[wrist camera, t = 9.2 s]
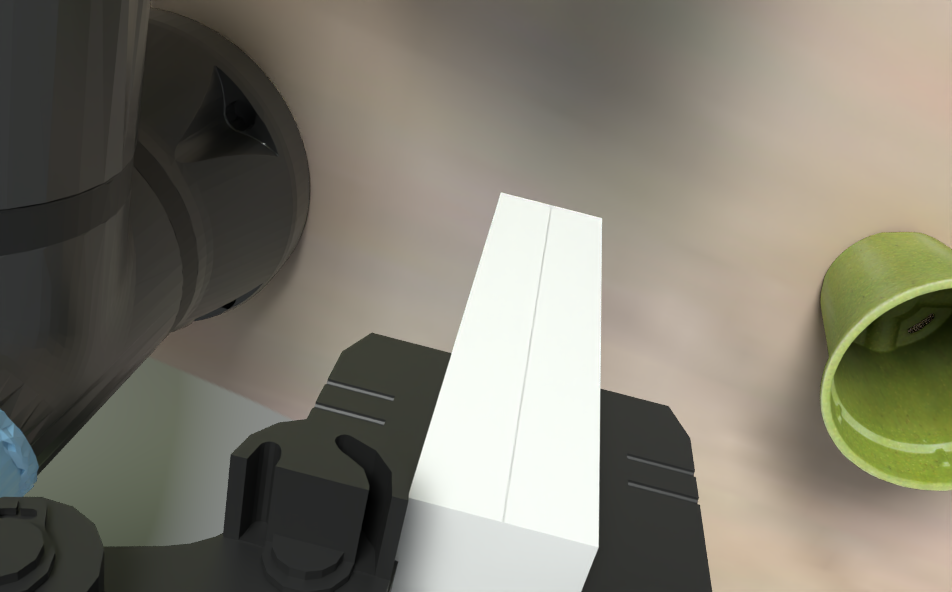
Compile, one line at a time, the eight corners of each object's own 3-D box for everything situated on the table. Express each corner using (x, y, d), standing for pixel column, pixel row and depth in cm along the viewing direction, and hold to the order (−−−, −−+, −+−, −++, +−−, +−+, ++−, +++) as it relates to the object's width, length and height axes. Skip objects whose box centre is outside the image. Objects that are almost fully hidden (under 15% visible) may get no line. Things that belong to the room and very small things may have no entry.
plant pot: (908, 149, 36) (985, 227, 29) (1048, 286, 38) (1155, 394, 30) (740, 290, 40) (768, 391, 33) (873, 408, 42) (929, 529, 35)
